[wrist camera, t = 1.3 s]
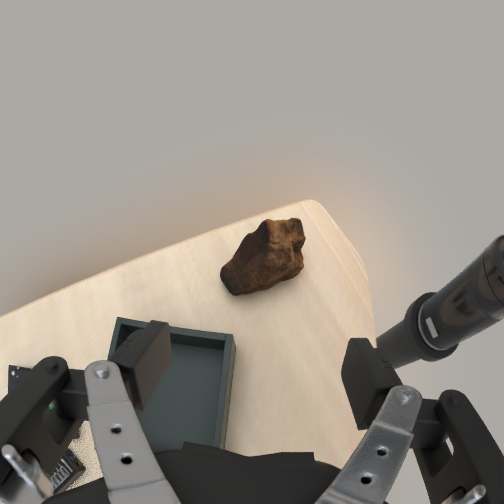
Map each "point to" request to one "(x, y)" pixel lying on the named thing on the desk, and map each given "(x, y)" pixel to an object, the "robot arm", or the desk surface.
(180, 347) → the bin
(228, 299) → the desk surface
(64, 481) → the multiport hub
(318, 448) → the desk surface
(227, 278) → the decorative rock
